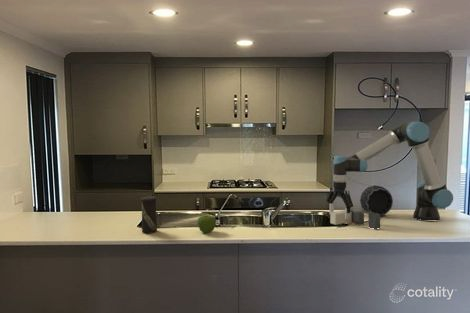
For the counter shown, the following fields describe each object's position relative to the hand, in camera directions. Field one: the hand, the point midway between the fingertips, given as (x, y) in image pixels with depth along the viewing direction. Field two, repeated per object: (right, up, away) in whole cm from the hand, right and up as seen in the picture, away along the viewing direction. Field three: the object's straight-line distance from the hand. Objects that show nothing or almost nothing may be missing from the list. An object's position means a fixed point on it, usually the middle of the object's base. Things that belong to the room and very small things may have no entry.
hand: (339, 216), depth 222 cm
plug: (+4, -4, +2) cm, 6 cm away
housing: (+14, -5, -6) cm, 16 cm away
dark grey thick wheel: (+30, -3, +20) cm, 37 cm away
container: (-112, -7, -16) cm, 113 cm away
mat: (+9, -4, +5) cm, 11 cm away
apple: (-79, -7, -18) cm, 82 cm away
